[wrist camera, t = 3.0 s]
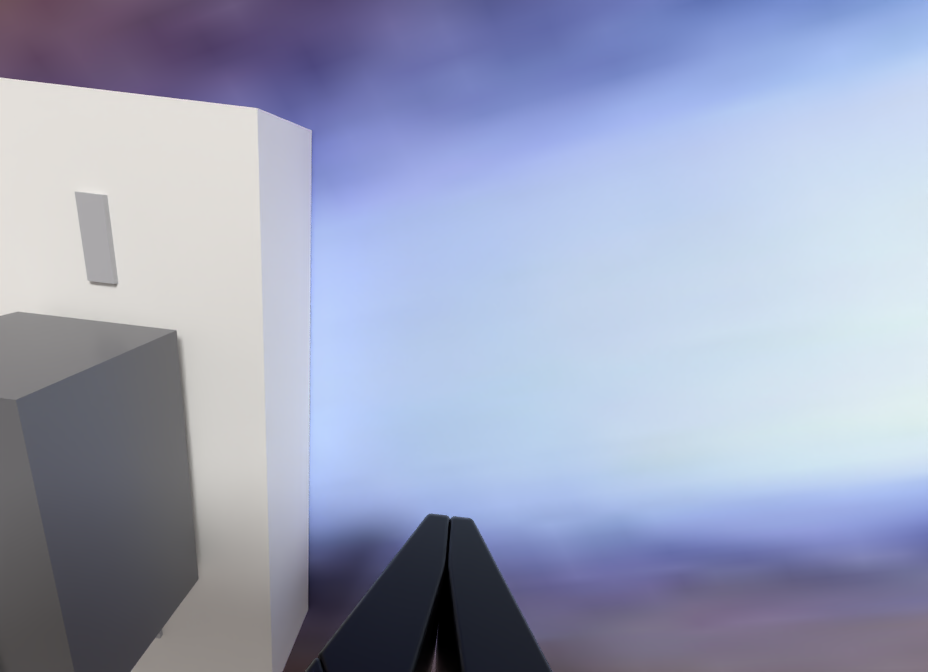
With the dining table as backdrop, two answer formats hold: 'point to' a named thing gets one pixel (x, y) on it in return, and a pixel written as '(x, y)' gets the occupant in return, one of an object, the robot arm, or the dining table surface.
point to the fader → (90, 492)
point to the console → (186, 320)
